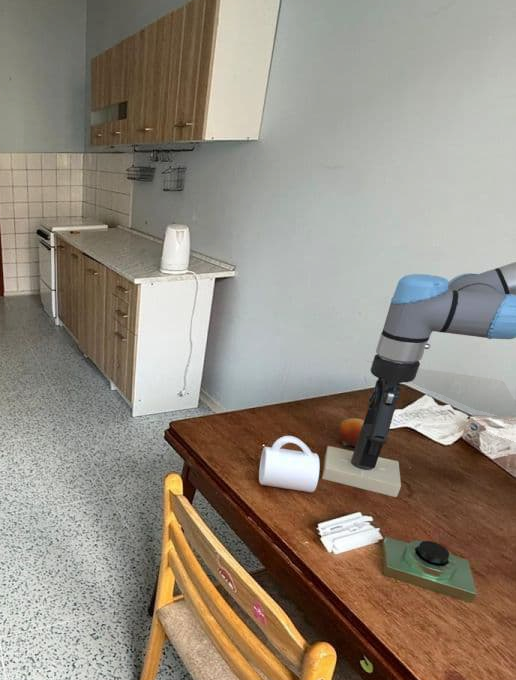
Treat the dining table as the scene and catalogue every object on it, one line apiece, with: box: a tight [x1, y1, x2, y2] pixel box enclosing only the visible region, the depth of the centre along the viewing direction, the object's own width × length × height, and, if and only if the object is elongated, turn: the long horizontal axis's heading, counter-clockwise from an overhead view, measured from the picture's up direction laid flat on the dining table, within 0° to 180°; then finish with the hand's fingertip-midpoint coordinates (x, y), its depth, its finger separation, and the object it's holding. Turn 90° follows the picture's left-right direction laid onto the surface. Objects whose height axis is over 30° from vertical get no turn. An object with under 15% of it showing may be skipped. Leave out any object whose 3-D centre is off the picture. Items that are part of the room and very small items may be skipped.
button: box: [417, 540, 450, 566], centre depth 78 cm, size 4×4×2 cm
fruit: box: [338, 417, 365, 448], centre depth 114 cm, size 8×8×8 cm
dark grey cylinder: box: [351, 424, 373, 470], centre depth 101 cm, size 4×4×9 cm
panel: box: [321, 445, 402, 498], centre depth 104 cm, size 14×10×3 cm
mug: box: [258, 435, 321, 493], centre depth 100 cm, size 8×10×12 cm
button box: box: [381, 536, 478, 604], centre depth 79 cm, size 12×8×4 cm, turn 61°
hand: (366, 450), depth 102 cm, fingers open, 12 cm apart
